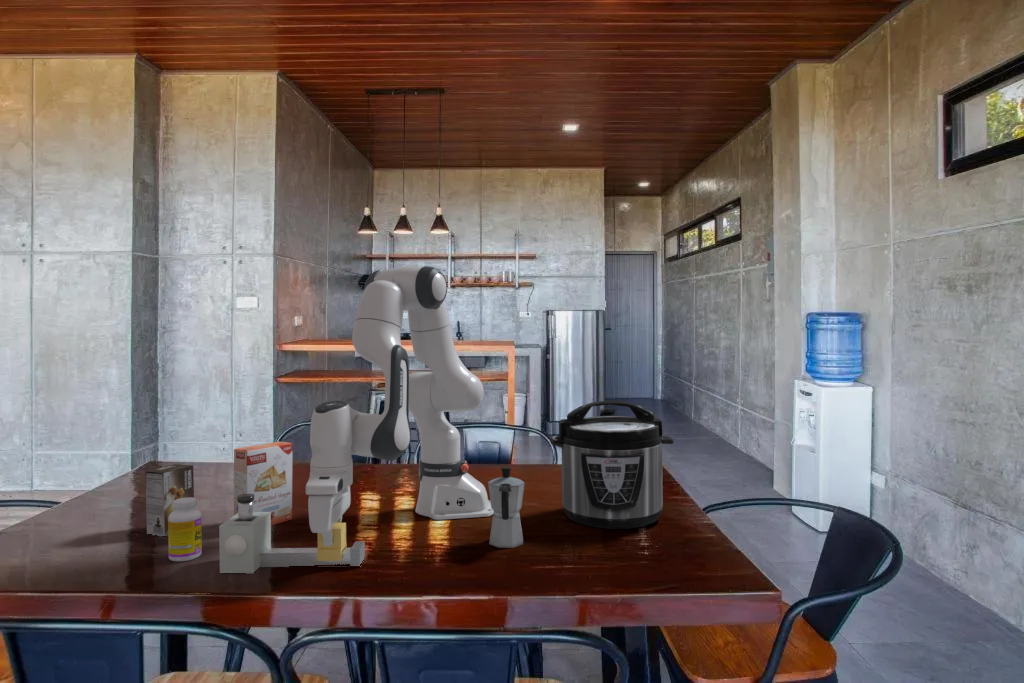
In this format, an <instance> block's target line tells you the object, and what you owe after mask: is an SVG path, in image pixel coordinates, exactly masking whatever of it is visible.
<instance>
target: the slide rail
mask: <svg viewBox="0 0 1024 683" xmlns="http://www.w3.org/2000/svg"><path fill="white" fill-rule="evenodd" d="M365 546H366V544H365V541H364V540H362V541H358V540H357V541H354V543H353V545H352V546H351V547H347V548H344V549H343V550H342V560H341V561H317V549H318V547H273V548H272V547H271V548H265V549H264V550H263V551H262V552H261V553H260V568H280V567H281V568H290V567H289V566H314V565H335V564H336V565H337V564H340V565H341V564H342V565H343V564H344V565H345V564H350V566H360V564H361V563H362V561H363V560H364V558H366V556H365V555H366V554H365V553H366V552H365V548H366V547H365ZM364 561H365V560H364ZM364 561H363V562H364ZM362 564H363V563H362ZM350 566H349V567H350ZM360 567H361V566H360Z"/></svg>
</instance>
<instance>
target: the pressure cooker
mask: <svg viewBox="0 0 1024 683" xmlns="http://www.w3.org/2000/svg"><path fill="white" fill-rule="evenodd" d="M610 405H612V406H618V407H619V406H620V407H627V408H629V409H630V410H631V411H632V414H634V416H627V415H626V416H625V415H623V416H622V415H616V414H615V412H616V410H615V409H613V408H610V407H604V408H602V409H601V410H600V413H599V415H598V416H597V415H596V416H591V417H586V415H587V414H588V413H589V412H590V410H591V409H592V407H601V406H610ZM549 440H550V441H549V443H550V445H553V446H556V447H559V448H561V485H562V486H561V488H562V489H561V492H562V493H561V496H562V497H561V499H562V502H561V503H562V508H563V509H562V510H563V511H564V513H565V515H566V517H567V518H569V519H570V520H572V521H573V522H576V523H578V524H581V525H585V526H589V527H592V528H593V527H594V528H599V529H600V528H601V529H612V530H613V529H620V530H621V529H634V528H641V527H646V526H649V525H651V524H654V523H655V522H657V521H658V520H659V518H660V517H661V515H662V511H663V505H664V502H663V500H664V499H663V498H664V497H663V494H664V493H663V445H673V444H674V438H673V437H671V436H669V435H664V434H663V421H662V419H660V418H657V417H655V414H654V412H652V411H651V410H649V409H647V408H646V407H643V406H641V405H639V404H637V403H633V402H629V401H623V400H600V401H598V400H597V401H593V402H590V403H586V404H583V405H581V406H578V407H577V408H574V409H573V410H571V411H570V412H568V414H566V418H562V419H560V420H559V421H558V435H555V436H550V439H549Z"/></svg>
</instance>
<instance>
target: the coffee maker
mask: <svg viewBox="0 0 1024 683" xmlns="http://www.w3.org/2000/svg"><path fill="white" fill-rule="evenodd" d="M500 469H501V475H502V476H500V477H496V478H493V479H491V480H489V481H487V485H488V492H489V493H488V494H489V499H490V501H491V508H492V509H493V514H492V521H491V528H490V535H489V542H488V545H491V546H493V547H496V548H498V549H500V548H501V549H502V548H503V549H504V548H506V549H508V548H509V549H514V548H516V547H519V546H522V545H524V536H523V529H522V524H521V515H520V510H521V509H522V507H523V506H522V505H523V497H524V490H525V482H524V481H523V480H521V479H520V478H517V477H512V476H511V470H512V467H510V466H502V467H501V468H500Z"/></svg>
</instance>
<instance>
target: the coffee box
mask: <svg viewBox="0 0 1024 683" xmlns="http://www.w3.org/2000/svg"><path fill="white" fill-rule="evenodd" d="M194 478H195V477H194V464H193V465H192V464H179V463H174V464H170V465H166V466H161V467H158V468H153V469H149V470H146V471H145V500H146V501H145V504H146V505H145V506H146V508H145V509H146V534H147V535H148V534H152V535H151V536H155V535H157V536H158V537H162V536H166V537H168V517H169V515H170V514H171V513H172V512H173V511H174V507H173V501H174V500H176V499H180V498H195V489H194V488H195V486H194V485H195V483H194V481H195V480H194ZM157 536H156V537H157Z"/></svg>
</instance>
